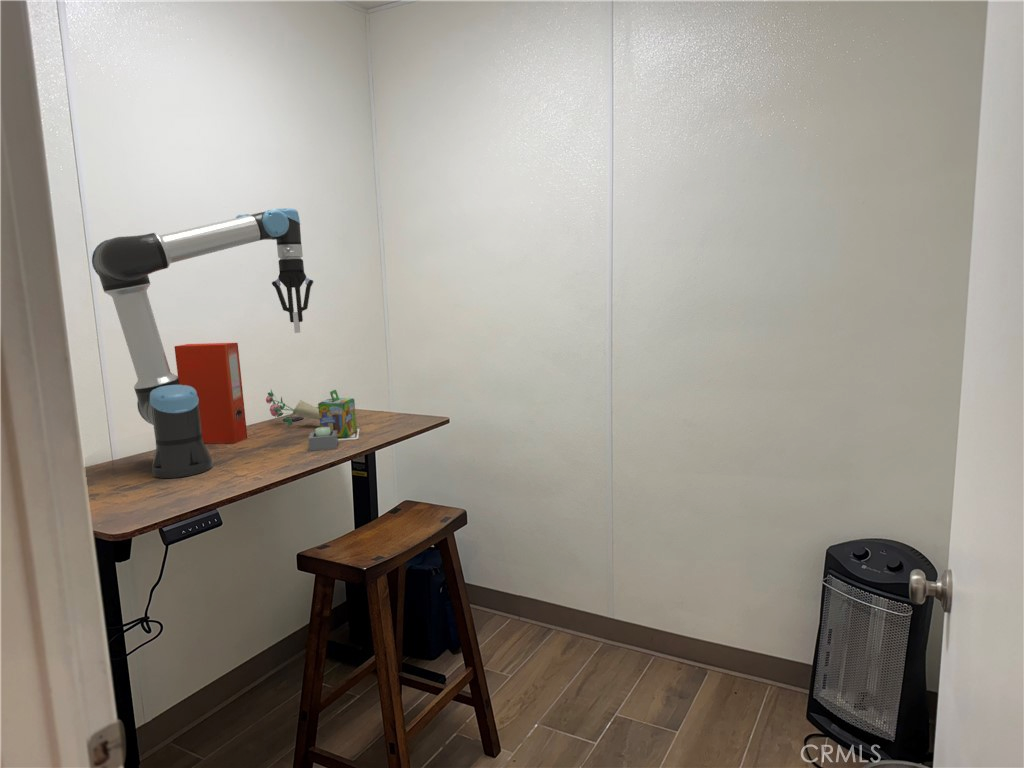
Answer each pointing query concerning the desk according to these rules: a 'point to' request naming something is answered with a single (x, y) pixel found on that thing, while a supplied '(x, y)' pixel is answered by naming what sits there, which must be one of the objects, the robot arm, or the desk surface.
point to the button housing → (323, 441)
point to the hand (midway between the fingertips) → (297, 332)
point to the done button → (322, 431)
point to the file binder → (215, 388)
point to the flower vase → (301, 409)
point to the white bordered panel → (351, 437)
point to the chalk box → (338, 415)
